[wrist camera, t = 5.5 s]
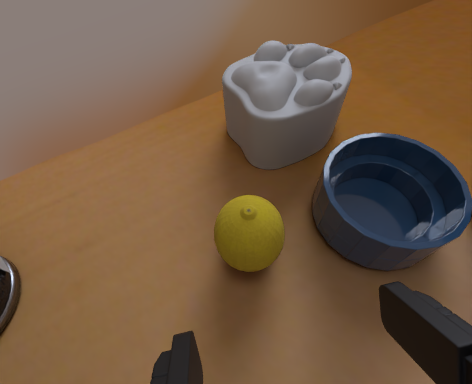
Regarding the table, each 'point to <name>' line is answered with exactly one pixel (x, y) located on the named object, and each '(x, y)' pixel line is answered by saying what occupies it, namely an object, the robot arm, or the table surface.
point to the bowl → (389, 201)
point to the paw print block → (284, 101)
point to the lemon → (249, 233)
